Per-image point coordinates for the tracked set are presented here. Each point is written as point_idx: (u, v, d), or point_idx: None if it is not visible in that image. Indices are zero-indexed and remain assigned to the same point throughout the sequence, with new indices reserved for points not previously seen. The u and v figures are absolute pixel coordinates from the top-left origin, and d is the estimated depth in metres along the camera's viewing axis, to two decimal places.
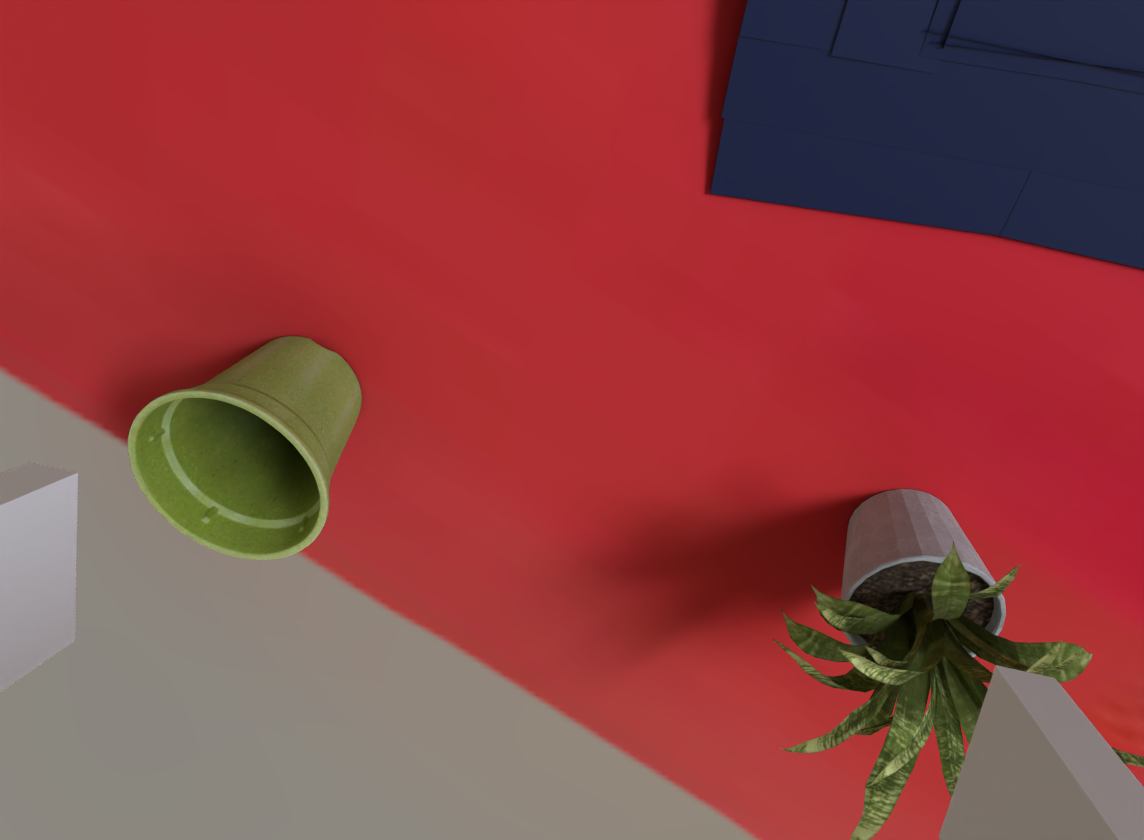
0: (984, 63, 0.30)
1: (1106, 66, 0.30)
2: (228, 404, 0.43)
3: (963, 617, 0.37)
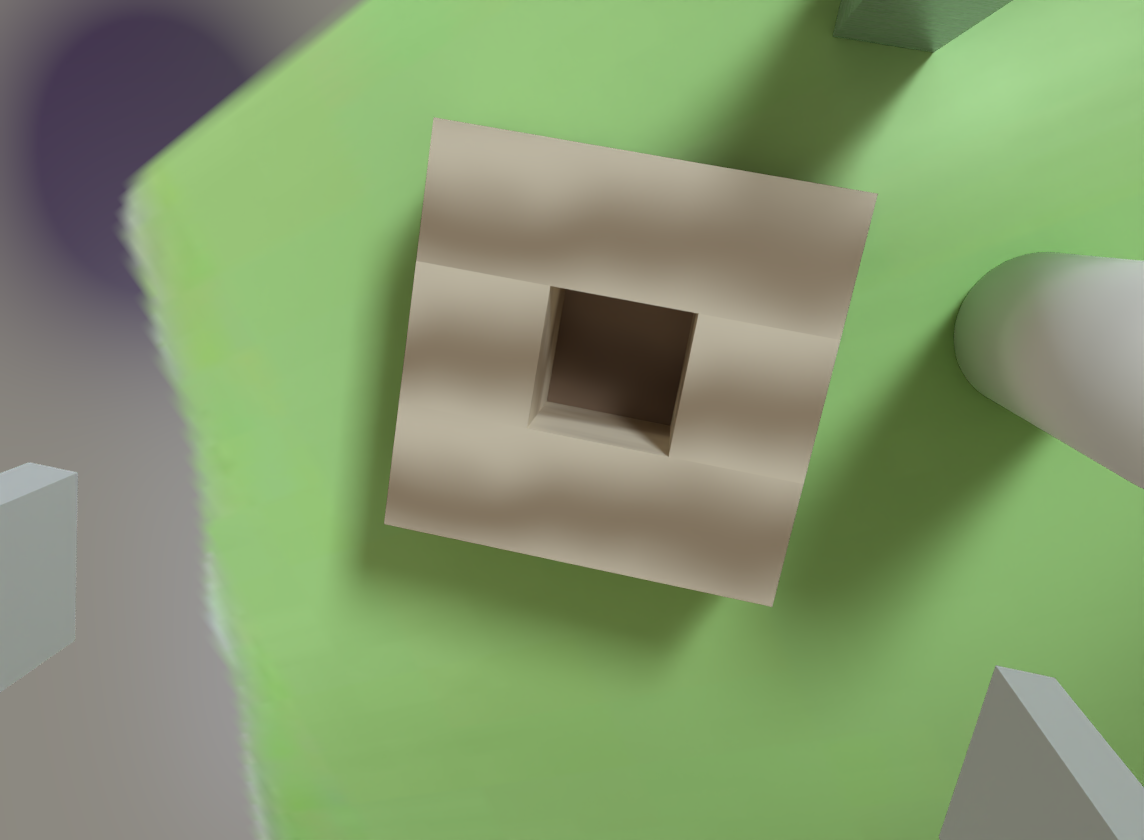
0: None
1: None
2: None
3: None
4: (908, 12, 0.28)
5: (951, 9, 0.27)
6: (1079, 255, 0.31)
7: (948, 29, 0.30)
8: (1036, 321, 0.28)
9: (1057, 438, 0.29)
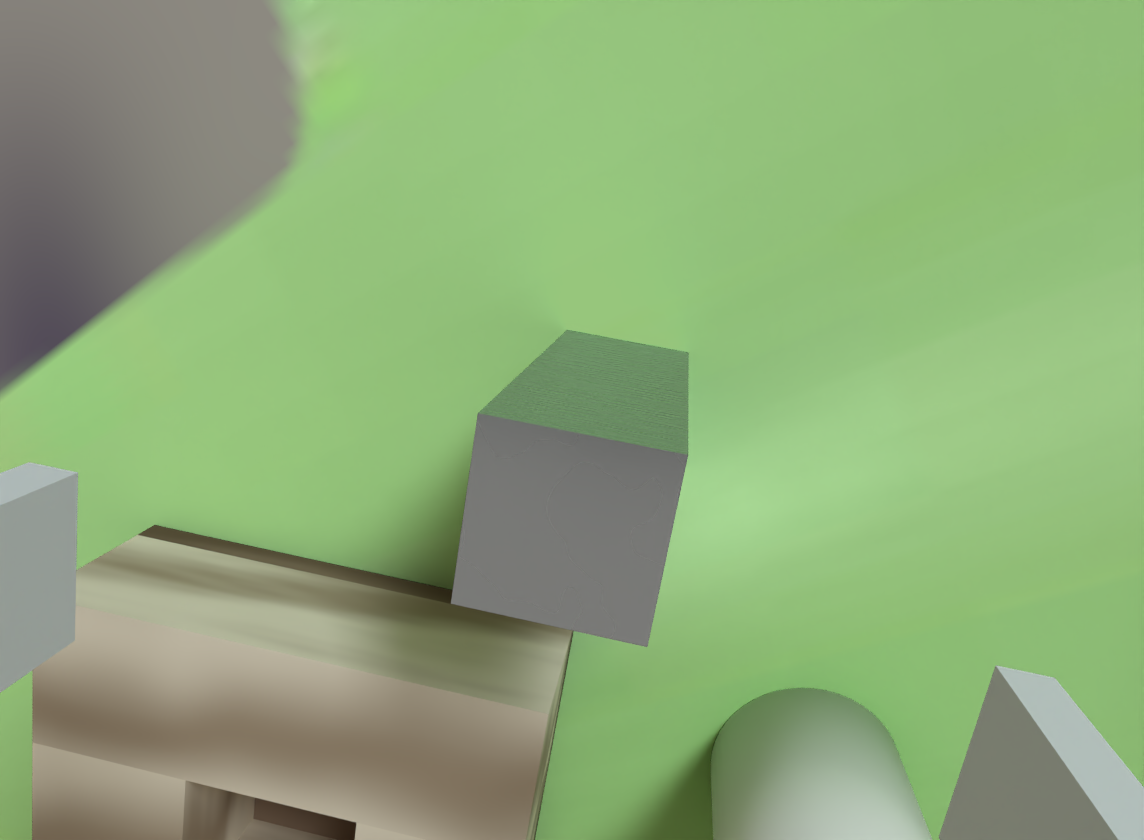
0: None
1: None
2: None
3: None
4: None
5: None
6: (820, 743, 0.26)
7: None
8: None
9: None
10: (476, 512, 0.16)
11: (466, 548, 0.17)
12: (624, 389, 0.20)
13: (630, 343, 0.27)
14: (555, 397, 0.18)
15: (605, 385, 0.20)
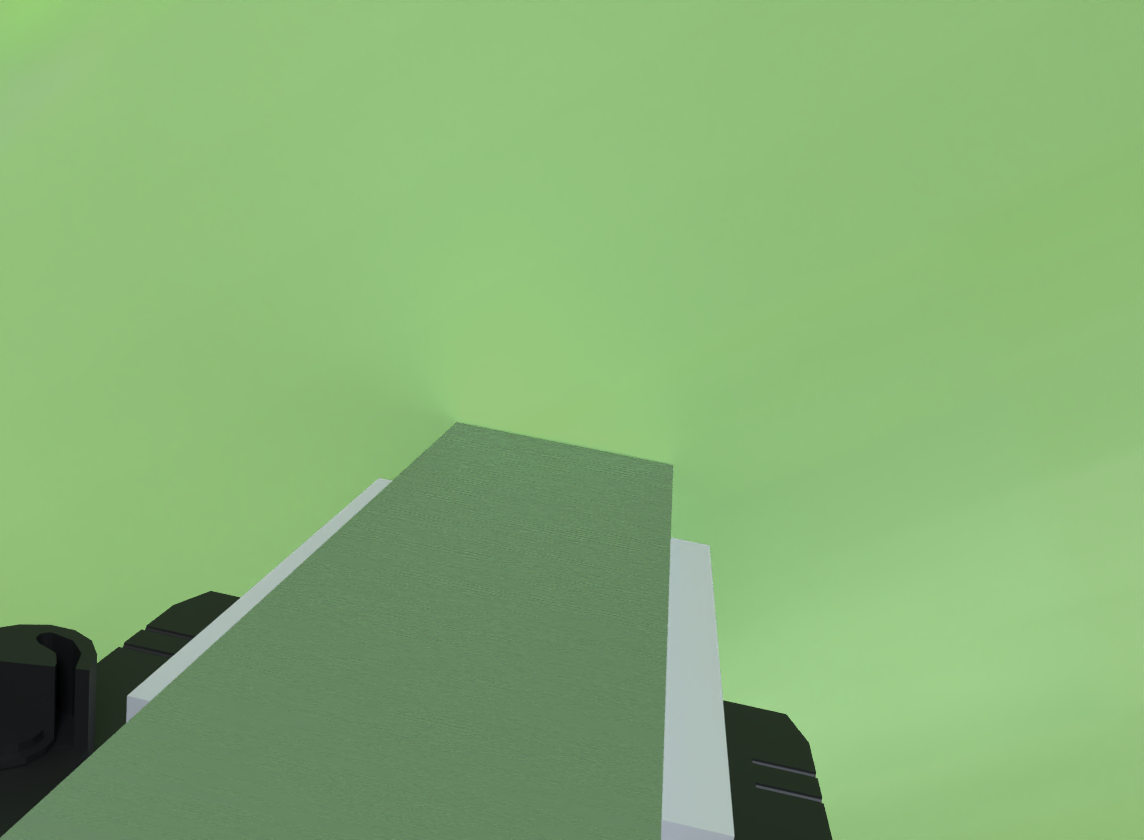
0: None
1: None
2: None
3: None
4: None
5: None
6: None
7: None
8: None
9: None
10: None
11: None
12: (505, 656, 0.08)
13: (567, 450, 0.15)
14: (261, 767, 0.06)
15: (459, 643, 0.08)
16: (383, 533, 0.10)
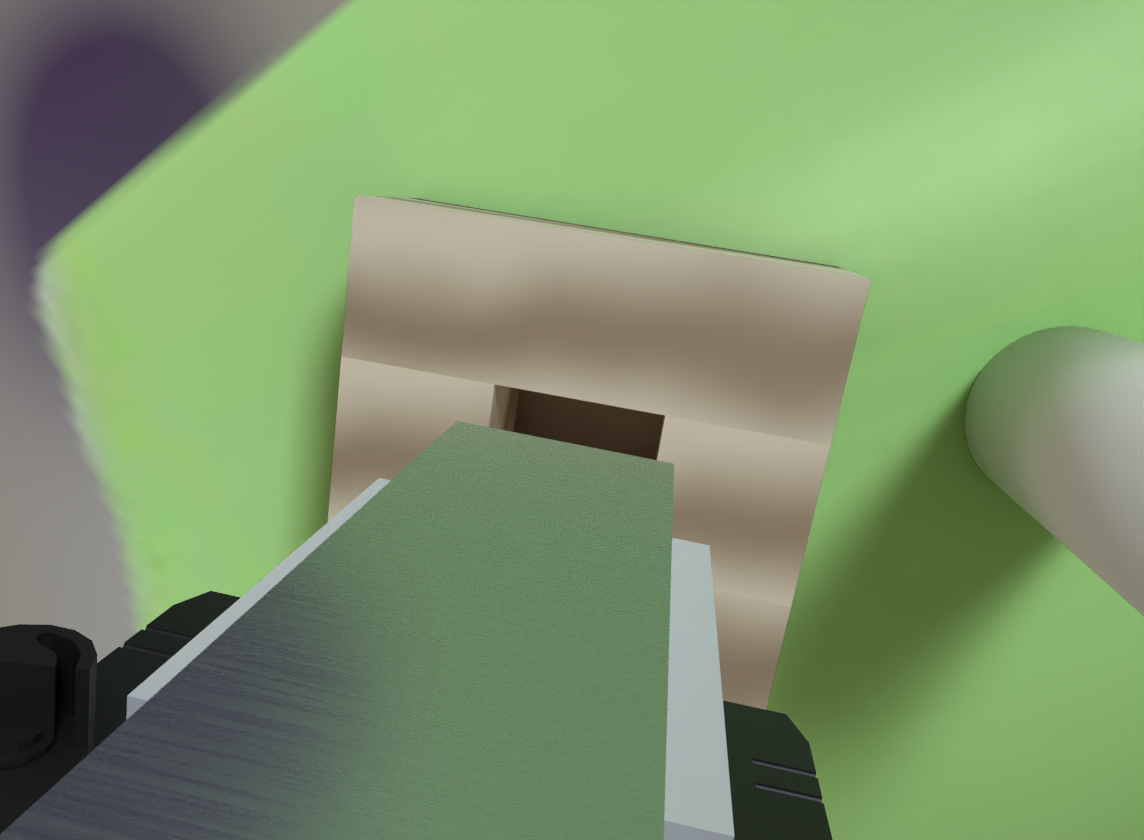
0: None
1: None
2: None
3: None
4: None
5: None
6: (1109, 339, 0.27)
7: None
8: (1061, 431, 0.24)
9: None
10: None
11: None
12: (506, 654, 0.08)
13: (568, 448, 0.15)
14: (261, 764, 0.06)
15: (460, 640, 0.08)
16: (384, 531, 0.10)
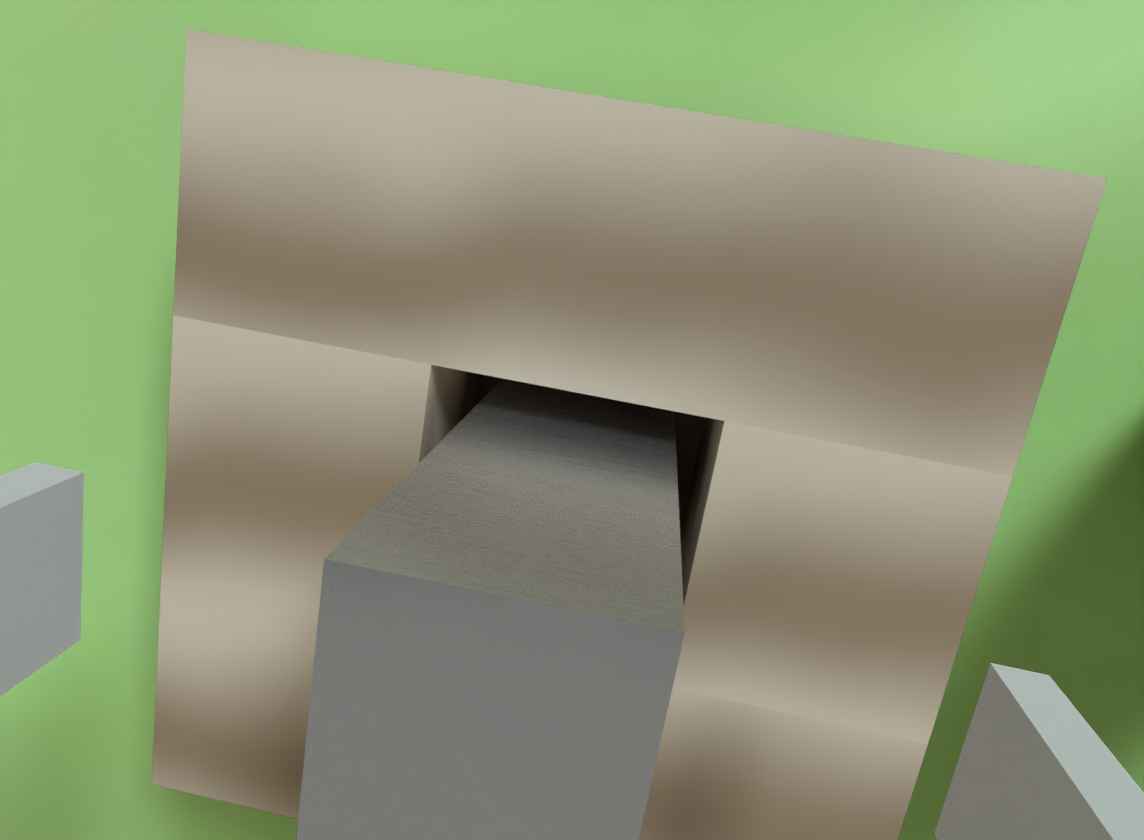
0: None
1: None
2: None
3: None
4: None
5: None
6: None
7: None
8: None
9: None
10: (329, 718, 0.10)
11: (314, 774, 0.10)
12: (583, 475, 0.13)
13: None
14: (472, 504, 0.11)
15: (555, 469, 0.14)
16: (491, 421, 0.16)
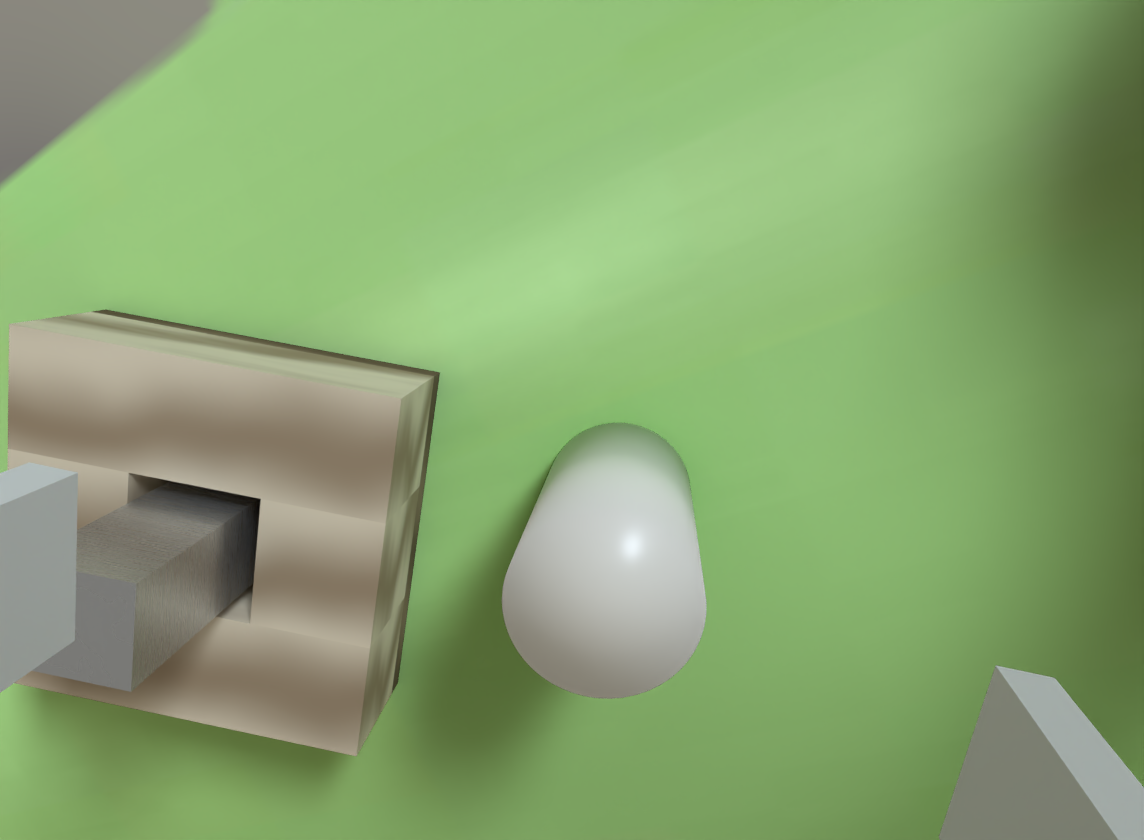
0: None
1: None
2: None
3: None
4: None
5: None
6: (613, 440, 0.35)
7: None
8: None
9: None
10: None
11: None
12: (170, 525, 0.32)
13: None
14: (100, 539, 0.30)
15: (159, 523, 0.32)
16: (153, 498, 0.34)
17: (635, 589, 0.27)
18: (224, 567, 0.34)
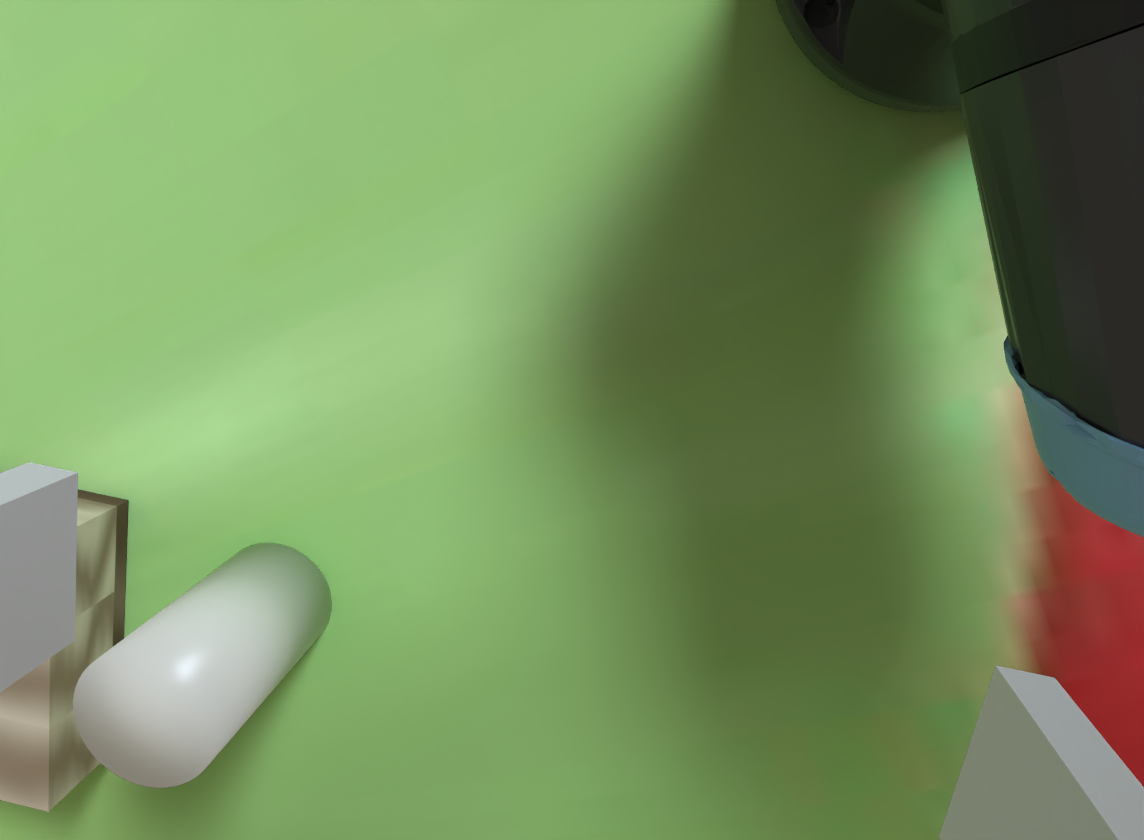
0: None
1: None
2: None
3: None
4: None
5: None
6: (239, 565, 0.44)
7: None
8: None
9: None
10: None
11: None
12: None
13: None
14: None
15: None
16: None
17: (165, 709, 0.36)
18: None
